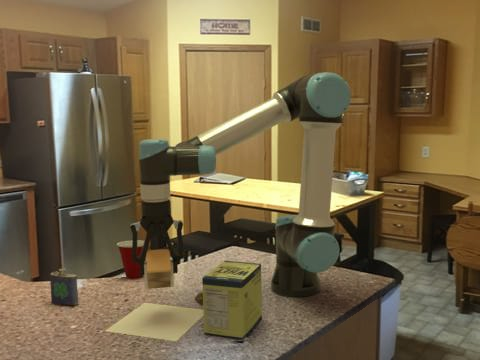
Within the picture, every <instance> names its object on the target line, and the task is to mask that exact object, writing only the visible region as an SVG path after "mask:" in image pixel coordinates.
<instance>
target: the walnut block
mask: <svg viewBox="0 0 480 360" xmlns="http://www.w3.org/2000/svg"><path fill="white" fill-rule="evenodd" d="M170 260H171V254H170V251H169V249H168V248H164V249H163V248H161V249H148V250H147V253H146V261H147V279H148V290H149V289H150V290H151V289H152V290H153V289H162V288H163V289H164V288H172V287H171V262H170Z"/></svg>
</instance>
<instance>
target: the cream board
mask: <svg viewBox="0 0 480 360" xmlns="http://www.w3.org/2000/svg"><path fill="white" fill-rule="evenodd" d="M203 317H204V312H203V309H200V308H194V307H193V308H191V307H183V306H175V305H166V304H158V303H150V302H143V303H142V304H141V305H139V306H138V307H136V309H133V310H132V311H131V312H129V313H128V314H126V315H125V316H124V317H123V318H121V319H119V321H117V322H116V323H114V324H112V325H111V326H110V327H108V328H106V330H104V332H108V333H115V334H120V335H122V334H123V335H130V336H136V337H143V338H151V339H155V340H163V341H172V342H177V341H178V340H179V339H181V337H182V336H183V335H184V334H185V333H187V332H188V331H189V330H190V329H192V328H193V326H194V325H195V324H196V323H198V321H199V320H200V319H202V318H203Z"/></svg>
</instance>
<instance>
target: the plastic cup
mask: <svg viewBox="0 0 480 360" xmlns="http://www.w3.org/2000/svg"><path fill="white" fill-rule="evenodd" d="M144 241H145V240H139V239H137V257H140V255H141V252H142V248H143V245H144ZM132 242H133V239H131V240H124V241H120V242H118V243H116V245H117V247H118V250H119V253H120V258H121V262H122V267H123V270H124V273H125V278H127V279H129V280H135V279H136V280H137V279H141V278H143V277H144V276H141V275H140V265H139V263H136V262H133V261H132ZM146 261H147V258H146V257H145V261H144V262H146Z"/></svg>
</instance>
